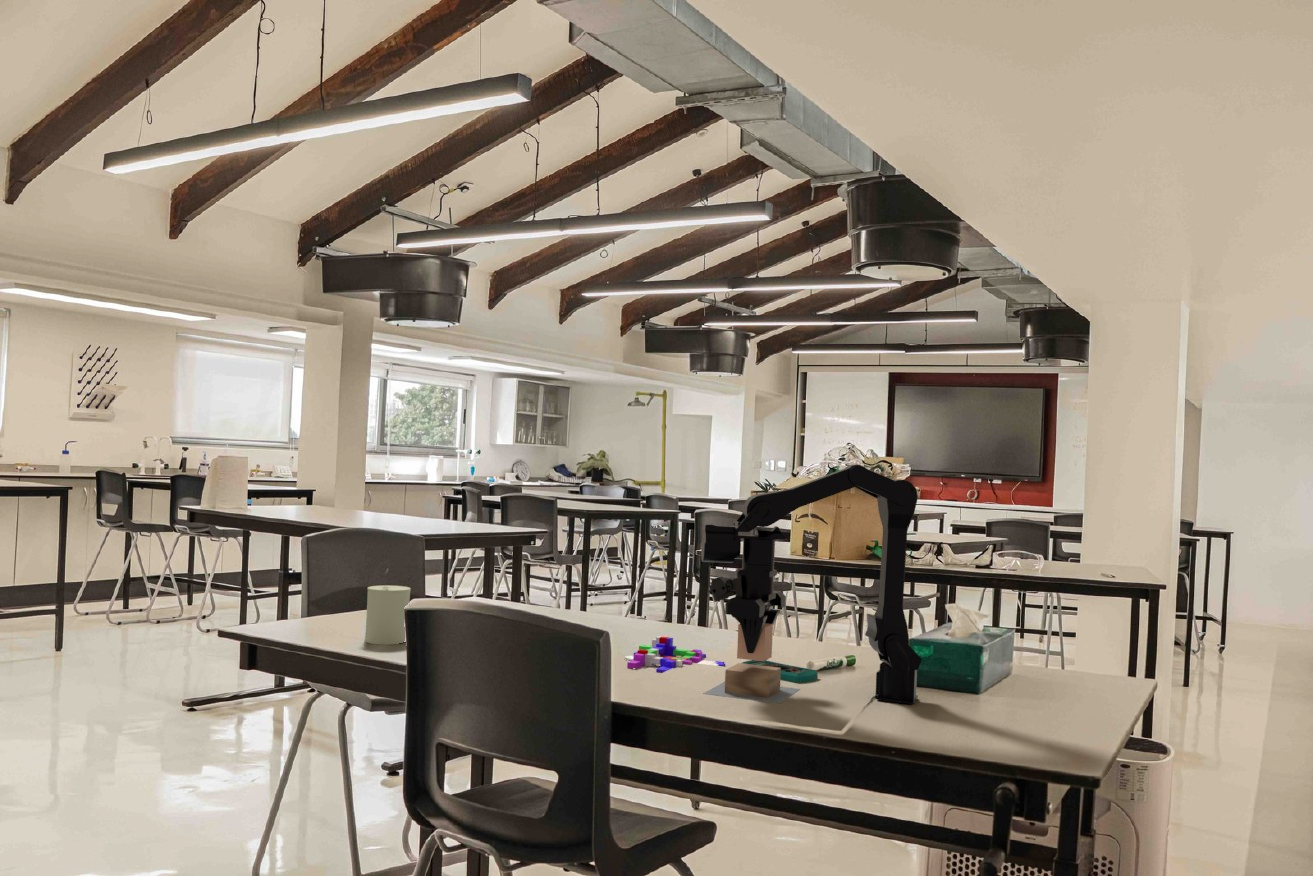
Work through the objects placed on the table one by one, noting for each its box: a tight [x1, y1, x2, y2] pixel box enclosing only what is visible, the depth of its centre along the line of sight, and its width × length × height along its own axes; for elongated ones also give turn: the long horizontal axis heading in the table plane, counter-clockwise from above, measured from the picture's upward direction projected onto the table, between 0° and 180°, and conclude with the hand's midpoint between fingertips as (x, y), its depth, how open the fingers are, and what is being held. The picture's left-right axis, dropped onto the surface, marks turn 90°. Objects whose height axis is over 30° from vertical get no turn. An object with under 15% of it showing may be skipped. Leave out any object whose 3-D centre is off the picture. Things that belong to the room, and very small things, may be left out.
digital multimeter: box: [741, 660, 819, 684], centre depth 202 cm, size 7×15×3 cm, turn 48°
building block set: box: [624, 635, 726, 673], centre depth 215 cm, size 25×20×4 cm
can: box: [363, 584, 412, 646], centre depth 223 cm, size 9×9×12 cm
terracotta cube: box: [736, 623, 774, 661], centre depth 186 cm, size 5×5×6 cm
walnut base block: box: [724, 662, 781, 698], centre depth 186 cm, size 8×8×4 cm
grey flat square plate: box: [702, 681, 801, 704], centre depth 186 cm, size 14×14×1 cm
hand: (754, 651), depth 186 cm, fingers closed on terracotta cube, 5 cm apart
